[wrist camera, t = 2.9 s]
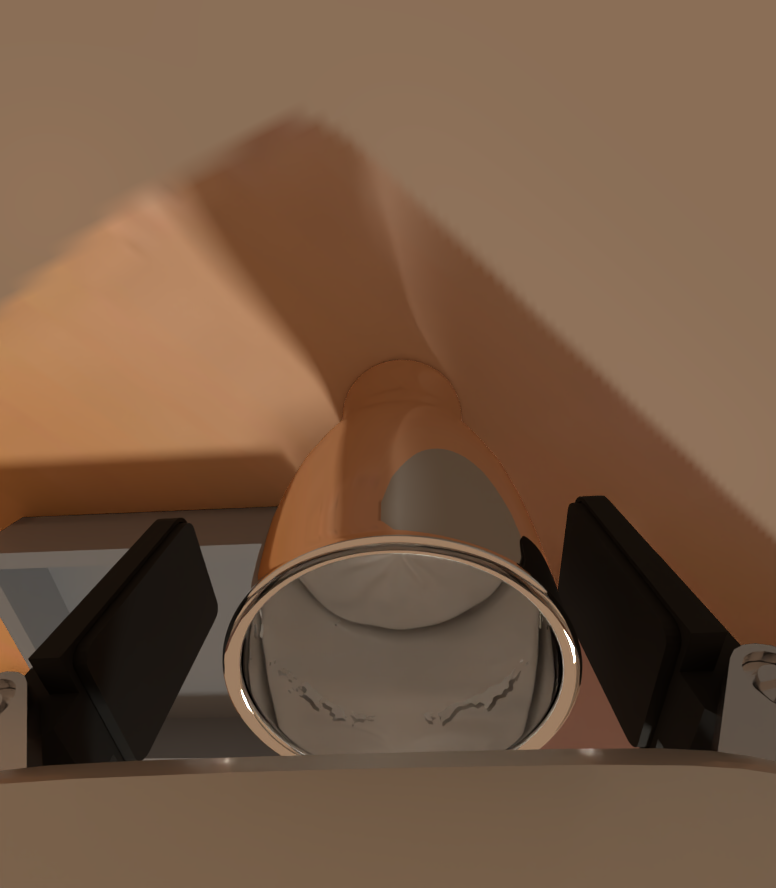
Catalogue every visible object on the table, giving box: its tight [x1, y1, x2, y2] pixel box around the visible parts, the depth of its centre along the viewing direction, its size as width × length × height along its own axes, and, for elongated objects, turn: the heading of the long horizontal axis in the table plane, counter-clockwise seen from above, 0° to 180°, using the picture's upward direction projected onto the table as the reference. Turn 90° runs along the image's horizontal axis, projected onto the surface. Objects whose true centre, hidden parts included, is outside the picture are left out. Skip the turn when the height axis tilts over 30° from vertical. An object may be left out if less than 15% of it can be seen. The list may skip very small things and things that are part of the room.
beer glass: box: [222, 360, 582, 756], centre depth 14 cm, size 7×7×15 cm
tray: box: [0, 507, 281, 761], centre depth 26 cm, size 18×18×4 cm
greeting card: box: [541, 642, 639, 749], centre depth 20 cm, size 11×7×15 cm, turn 70°
